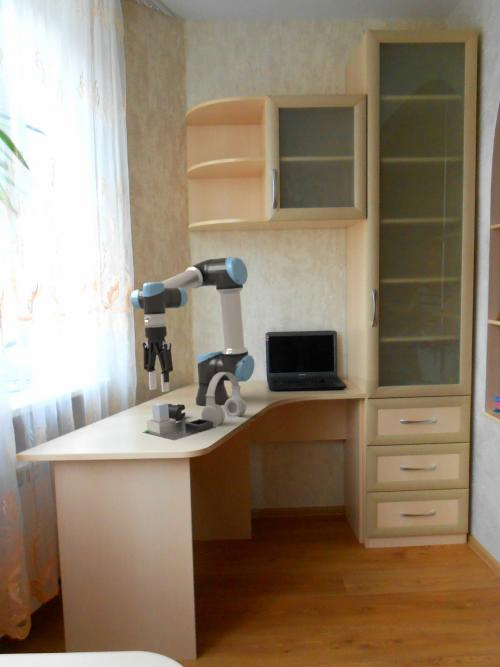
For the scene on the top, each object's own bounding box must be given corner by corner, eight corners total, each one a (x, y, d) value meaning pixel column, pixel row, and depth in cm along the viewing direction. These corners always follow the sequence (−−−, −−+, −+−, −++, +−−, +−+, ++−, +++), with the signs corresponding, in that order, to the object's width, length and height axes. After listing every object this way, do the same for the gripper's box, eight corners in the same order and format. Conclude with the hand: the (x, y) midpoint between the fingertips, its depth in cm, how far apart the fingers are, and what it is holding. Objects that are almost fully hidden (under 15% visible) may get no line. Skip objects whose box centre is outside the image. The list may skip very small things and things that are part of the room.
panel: (184, 422, 200) (183, 410, 200) (216, 429, 188) (216, 416, 188) (142, 434, 185) (141, 421, 185) (174, 443, 173) (173, 428, 173)
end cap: (155, 422, 203) (154, 406, 202) (165, 418, 209) (164, 402, 209) (177, 424, 199) (176, 407, 198) (186, 419, 205) (185, 403, 205)
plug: (162, 429, 188) (161, 402, 188) (169, 430, 186) (168, 403, 185) (153, 431, 185) (152, 404, 185) (160, 433, 183) (159, 405, 182)
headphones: (230, 415, 210) (228, 368, 209) (247, 416, 206) (245, 369, 204) (200, 427, 193) (198, 376, 192) (219, 429, 189) (216, 377, 187)
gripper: (130, 326, 186) (134, 389, 188) (164, 327, 173) (168, 394, 175) (147, 325, 192) (151, 386, 194) (181, 325, 179) (185, 391, 181)
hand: (159, 390), depth 184 cm, fingers open, 6 cm apart
